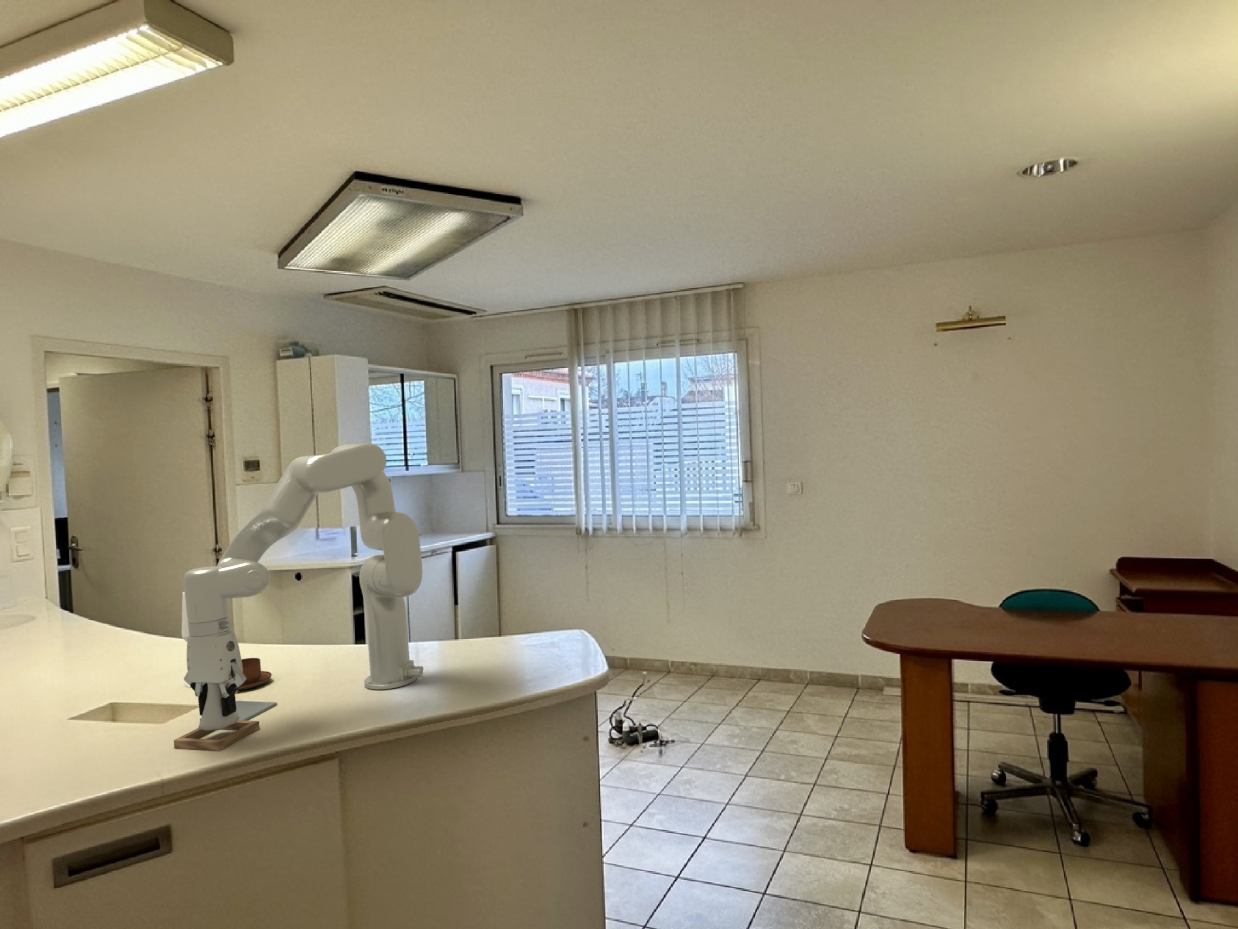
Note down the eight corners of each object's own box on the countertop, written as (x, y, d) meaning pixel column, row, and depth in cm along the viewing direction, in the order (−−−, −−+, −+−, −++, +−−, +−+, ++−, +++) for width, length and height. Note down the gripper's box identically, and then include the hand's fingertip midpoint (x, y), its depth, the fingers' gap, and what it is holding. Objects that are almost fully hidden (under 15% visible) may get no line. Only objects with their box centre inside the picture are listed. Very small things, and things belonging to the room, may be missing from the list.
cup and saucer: (236, 697, 178) (234, 672, 178) (209, 690, 184) (207, 666, 184) (281, 681, 188) (280, 658, 188) (254, 676, 194) (252, 653, 194)
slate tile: (276, 705, 170) (276, 702, 170) (241, 723, 159) (241, 721, 159) (237, 703, 173) (237, 700, 173) (200, 721, 162) (199, 718, 162)
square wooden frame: (259, 728, 156) (259, 721, 156) (219, 750, 145) (218, 742, 145) (217, 726, 159) (216, 719, 159) (174, 748, 148) (173, 740, 148)
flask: (221, 732, 148) (217, 683, 147) (191, 731, 149) (186, 683, 149) (246, 717, 155) (242, 671, 154) (217, 717, 156) (212, 671, 156)
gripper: (257, 622, 153) (265, 708, 153) (191, 622, 157) (199, 705, 158) (229, 632, 145) (238, 722, 146) (160, 632, 150) (170, 719, 151)
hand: (218, 712), depth 152 cm, fingers closed on flask, 4 cm apart
